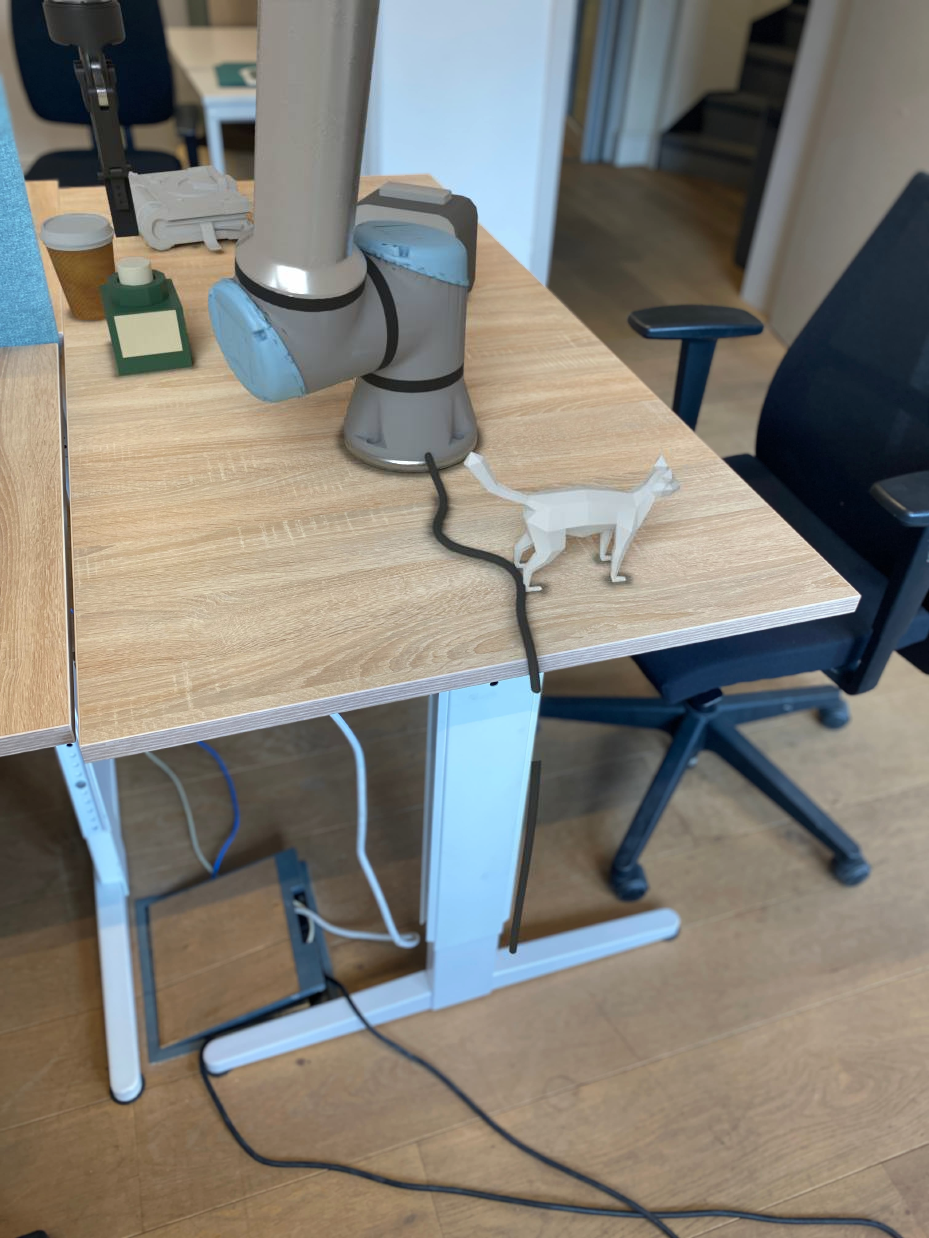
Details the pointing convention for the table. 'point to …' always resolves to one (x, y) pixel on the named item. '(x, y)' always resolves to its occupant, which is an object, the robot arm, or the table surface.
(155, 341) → the bottle label
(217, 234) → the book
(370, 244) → the robot arm
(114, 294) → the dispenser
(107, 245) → the disposable coffee cup
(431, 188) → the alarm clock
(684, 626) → the table surface
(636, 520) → the cat figurine
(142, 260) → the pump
